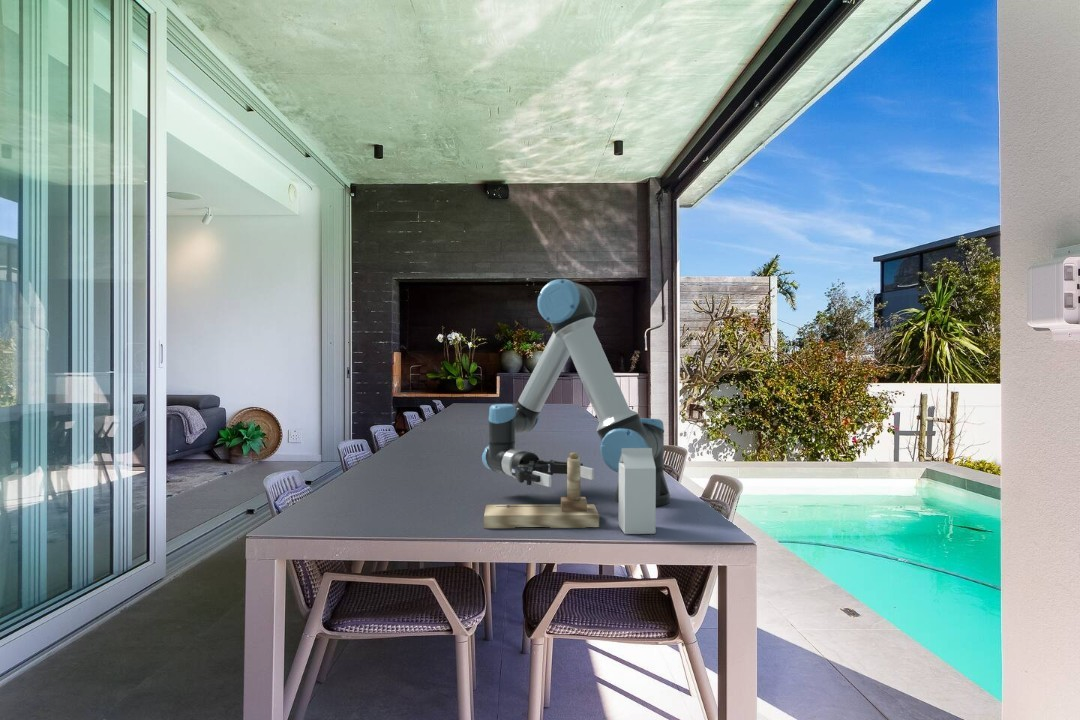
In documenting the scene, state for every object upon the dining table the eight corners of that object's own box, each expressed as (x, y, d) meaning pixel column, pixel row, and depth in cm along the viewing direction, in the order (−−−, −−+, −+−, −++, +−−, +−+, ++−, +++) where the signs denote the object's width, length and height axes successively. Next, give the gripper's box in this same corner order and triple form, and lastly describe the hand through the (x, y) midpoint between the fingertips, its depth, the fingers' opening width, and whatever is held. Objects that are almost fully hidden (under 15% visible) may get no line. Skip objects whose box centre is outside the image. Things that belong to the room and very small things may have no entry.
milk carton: (655, 534, 134) (656, 450, 134) (624, 534, 133) (625, 450, 133) (647, 525, 141) (648, 445, 141) (618, 525, 140) (618, 446, 140)
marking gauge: (585, 507, 146) (585, 451, 145) (586, 511, 142) (587, 454, 141) (560, 507, 146) (561, 451, 145) (561, 511, 142) (562, 454, 141)
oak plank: (593, 516, 149) (593, 503, 149) (598, 527, 139) (599, 514, 139) (486, 516, 148) (486, 504, 148) (483, 528, 138) (483, 515, 138)
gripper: (557, 473, 168) (609, 486, 151) (482, 484, 153) (530, 500, 136) (557, 446, 168) (609, 457, 151) (482, 455, 153) (530, 468, 136)
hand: (572, 477), depth 144 cm, fingers open, 13 cm apart
